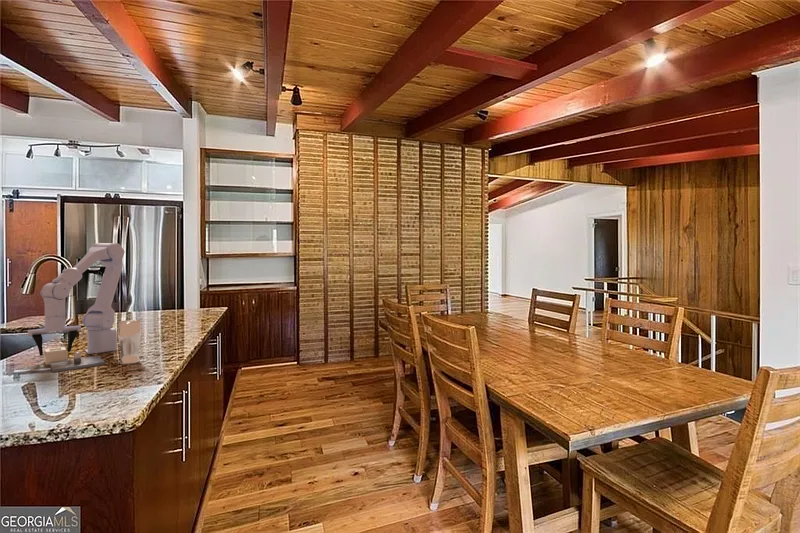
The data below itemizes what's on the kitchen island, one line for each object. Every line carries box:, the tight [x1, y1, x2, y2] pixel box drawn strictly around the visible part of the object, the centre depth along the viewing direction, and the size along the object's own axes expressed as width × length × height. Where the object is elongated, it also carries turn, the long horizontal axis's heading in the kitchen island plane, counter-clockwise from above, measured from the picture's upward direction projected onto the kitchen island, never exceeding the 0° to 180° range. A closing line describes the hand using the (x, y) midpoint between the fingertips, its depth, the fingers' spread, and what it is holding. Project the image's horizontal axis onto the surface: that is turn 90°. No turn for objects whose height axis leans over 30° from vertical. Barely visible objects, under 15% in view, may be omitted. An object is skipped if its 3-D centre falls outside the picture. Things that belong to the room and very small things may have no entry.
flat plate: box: [49, 351, 106, 373], centre depth 141 cm, size 14×12×4 cm
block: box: [44, 346, 68, 366], centre depth 145 cm, size 6×6×4 cm
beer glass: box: [117, 319, 142, 365], centre depth 145 cm, size 7×7×15 cm
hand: (55, 353), depth 145 cm, fingers open, 7 cm apart
